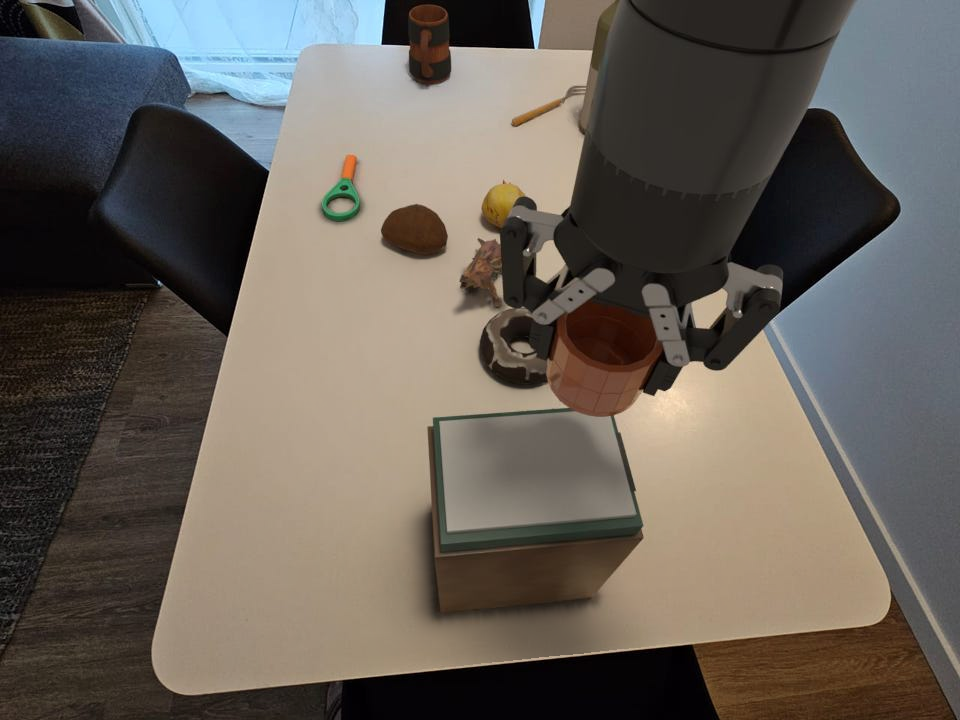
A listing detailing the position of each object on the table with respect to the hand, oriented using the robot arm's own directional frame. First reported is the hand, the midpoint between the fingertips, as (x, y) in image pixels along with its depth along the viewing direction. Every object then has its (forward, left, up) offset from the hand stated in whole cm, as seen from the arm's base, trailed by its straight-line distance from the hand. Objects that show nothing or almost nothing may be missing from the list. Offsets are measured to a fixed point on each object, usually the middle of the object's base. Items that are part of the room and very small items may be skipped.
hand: (597, 365), depth 36 cm
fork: (+22, -82, -34) cm, 91 cm away
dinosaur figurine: (+18, -33, -34) cm, 51 cm away
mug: (+48, -82, -34) cm, 101 cm away
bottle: (+12, -78, -34) cm, 86 cm away
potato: (+31, -37, -34) cm, 59 cm away
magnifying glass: (+47, -44, -34) cm, 73 cm away
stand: (+2, +3, -34) cm, 34 cm away
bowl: (0, 0, -1) cm, 1 cm away
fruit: (+20, -47, -34) cm, 61 cm away
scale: (+2, +3, -14) cm, 14 cm away
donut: (+9, -23, -34) cm, 42 cm away
